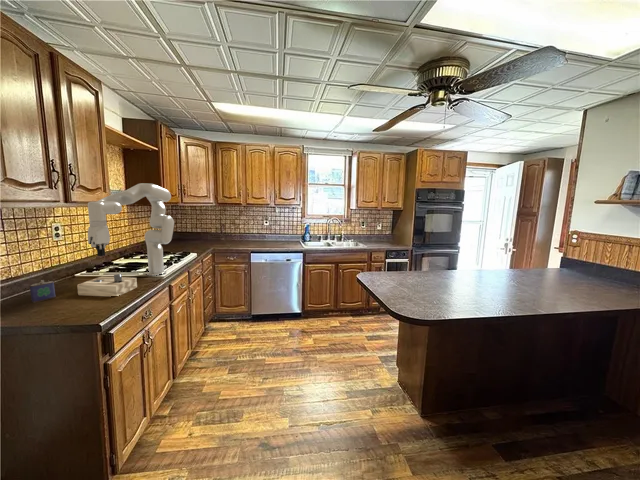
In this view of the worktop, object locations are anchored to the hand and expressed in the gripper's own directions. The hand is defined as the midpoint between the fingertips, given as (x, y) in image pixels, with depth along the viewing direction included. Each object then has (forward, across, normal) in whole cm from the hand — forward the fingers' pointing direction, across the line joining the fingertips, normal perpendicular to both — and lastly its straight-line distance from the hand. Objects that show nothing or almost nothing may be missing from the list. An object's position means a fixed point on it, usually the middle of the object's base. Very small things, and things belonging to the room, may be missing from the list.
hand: (101, 255), depth 156 cm
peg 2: (+16, 0, +9) cm, 19 cm away
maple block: (+21, 0, +3) cm, 21 cm away
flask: (+21, +17, -19) cm, 33 cm away
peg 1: (+20, 0, -3) cm, 21 cm away
